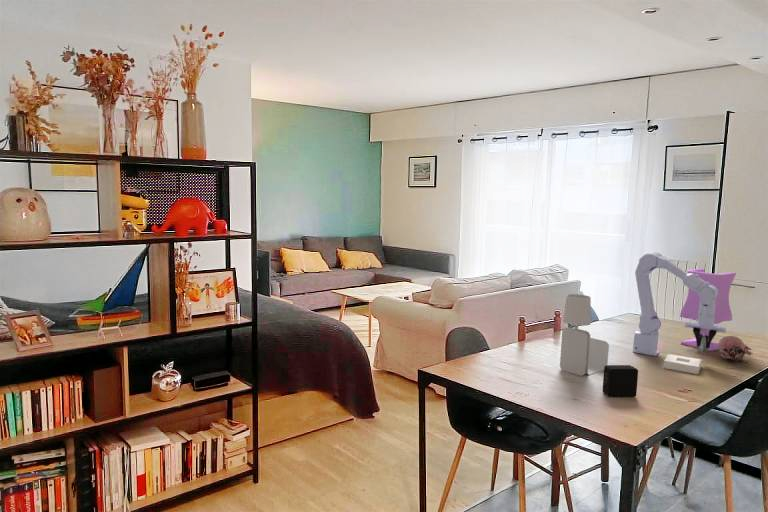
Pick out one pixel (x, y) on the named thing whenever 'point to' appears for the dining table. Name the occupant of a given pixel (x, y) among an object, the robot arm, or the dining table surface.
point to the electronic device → (620, 381)
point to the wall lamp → (581, 339)
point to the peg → (703, 343)
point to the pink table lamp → (722, 303)
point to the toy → (733, 348)
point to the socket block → (682, 363)
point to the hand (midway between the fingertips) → (703, 346)
